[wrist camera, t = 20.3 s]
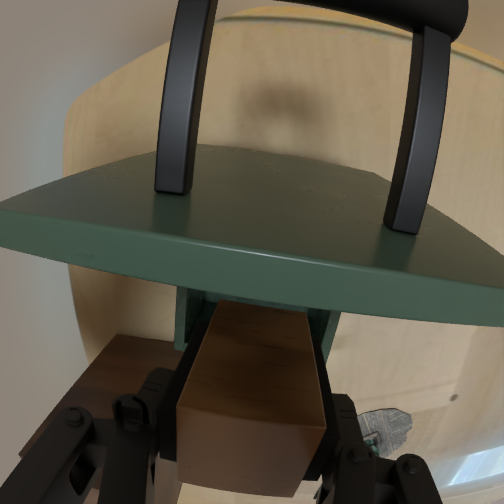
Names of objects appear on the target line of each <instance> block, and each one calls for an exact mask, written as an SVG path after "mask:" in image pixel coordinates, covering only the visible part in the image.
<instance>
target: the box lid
mask: <svg viewBox="0 0 504 504" xmlns="http://www.w3.org/2000/svg"><path fill="white" fill-rule="evenodd" d="M276 1H284V2H291V3H298V4H304V5H310V6H316V7H321V8H326V9H331V10H336V11H340V12H344V13H349V14H353V15H357V16H360V17H364V18H368V19H371V20H375V21H378V22H381V23H385V24H388V25H391V26H394V27H397V28H400V29H403V30H406V31H409V32H411V33H413V41H412V54H411V64H410V74H409V82H408V91H407V98H406V105H405V112H404V119H403V125H402V131H401V137H400V142H399V148H398V153H397V158H396V163H395V168H394V173H393V178H392V182H390V181H388V180H386V179H384V178H383V177H381V176H379V175H377V174H375V173H373V172H368V171H364V170H359V169H355V168H350V167H345V166H341V165H336V164H331V163H326V162H321V161H315V160H310V159H304V158H299V157H293V156H287V155H281V154H274V153H268V152H261V151H254V150H247V149H239V148H231V147H223V146H214V145H205V144H197V136H198V127H199V119H200V111H201V103H202V96H203V89H204V82H205V75H206V68H207V62H208V55H209V49H210V43H211V37H212V31H213V26H214V20H215V14H216V9H217V4H218V0H179V1H178V6H177V11H176V15H175V20H174V25H173V31H172V36H171V42H170V48H169V54H168V60H167V66H166V73H165V80H164V87H163V95H162V103H161V111H160V120H159V130H158V141H157V151H154V152H150V153H146V154H142V155H138V156H134V157H130V158H127V159H123V160H120V161H116V162H113V163H109V164H106V165H102V166H99V167H96V168H92V169H89V170H86V171H83V172H80V173H77V174H74V175H71V176H68V177H65V178H62V179H59V180H57V181H53V182H51V183H48V184H45V185H42V186H40V187H37V188H34V189H32V190H29V191H26V192H24V193H21V194H19V195H16V196H14V197H11V198H9V199H6V200H4V201H2V202H0V247H3V248H7V249H11V250H15V251H19V252H23V253H27V254H31V255H35V256H39V257H43V258H47V259H51V260H56V261H60V262H64V263H69V264H73V265H77V266H82V267H86V268H91V269H95V270H100V271H105V272H109V273H114V274H119V275H124V276H128V277H133V278H138V279H143V280H148V281H153V282H159V283H164V284H169V285H174V286H180V287H185V288H191V289H196V290H202V291H207V292H213V293H219V294H225V295H231V296H237V297H243V298H249V299H255V300H262V301H268V302H275V303H281V304H288V305H295V306H302V307H309V308H316V309H324V310H331V311H339V312H347V313H355V314H363V315H371V316H380V317H389V318H398V319H408V320H418V321H428V322H439V323H451V324H463V325H476V326H490V327H504V256H503V255H502V254H500V253H499V252H498V251H496V250H495V249H494V248H492V247H491V246H490V245H488V244H487V243H486V242H484V241H483V240H481V239H480V238H479V237H477V236H476V235H474V234H473V233H471V232H470V231H469V230H467V229H466V228H464V227H463V226H461V225H460V224H458V223H457V222H455V221H454V220H452V219H451V218H449V217H448V216H446V215H445V214H443V213H441V212H440V211H438V210H437V209H435V208H434V207H432V206H430V205H429V204H427V199H428V195H429V191H430V187H431V183H432V178H433V174H434V169H435V164H436V159H437V154H438V149H439V144H440V138H441V132H442V126H443V119H444V112H445V105H446V97H447V88H448V77H449V65H450V49H451V43H452V42H454V41H455V40H456V39H457V38H458V37H459V35H460V34H461V32H462V30H463V28H464V26H465V23H466V20H467V16H468V0H276Z"/></svg>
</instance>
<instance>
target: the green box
mask: <svg viewBox="0 0 504 504" xmlns="http://www.w3.org/2000/svg"><path fill="white" fill-rule="evenodd" d="M220 299H223V300H229V301H235V302H241V303H247V304H253V305H259V306H266V307H272V308H279V309H286V310H292V311H299V312H306V314H307V319H308V324H309V329H310V335H311V338H315V339H320V343H321V347H322V352H323V356H324V361H325V365H326V362H327V359H328V356H329V352H330V349H331V346H332V343H333V339H334V336H335V332H336V329H337V326H338V322H339V318H340V315H341V312H339V311H331V310H324V309H316V308H309V307H302V306H295V305H288V304H281V303H275V302H268V301H262V300H255V299H249V298H243V297H237V296H231V295H225V294H219V293H213V292H207V291H202V290H196V289H191V288H185V287H180V286H177V294H176V312H175V333H174V349H176V350H180V351H185V349H186V347H187V345H188V343H189V341H190V338H191V336H192V334H193V332H194V330H195V328H196V326H197V324H198V322H199V320H200V321H205V322H211V319H212V317H213V314H214V312H215V309H216V307H217V305H218V302H219V300H220Z"/></svg>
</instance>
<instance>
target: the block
mask: <svg viewBox="0 0 504 504" xmlns="http://www.w3.org/2000/svg"><path fill="white" fill-rule="evenodd" d="M326 428H327V427H326V420H325V414H324V408H323V402H322V396H321V390H320V384H319V379H318V373H317V367H316V362H315V356H314V351H313V345H312V340H311V335H310V329H309V324H308V319H307V314H306V312H299V311H292V310H286V309H279V308H272V307H266V306H259V305H253V304H247V303H241V302H235V301H229V300H223V299H220V300H219V302H218V305H217V307H216V309H215V312H214V314H213V317H212V319H211V322H210V324H209V327H208V329H207V331H206V334H205V336H204V339H203V341H202V344H201V346H200V349H199V351H198V353H197V356H196V358H195V361H194V363H193V366H192V368H191V371H190V373H189V376H188V378H187V381H186V383H185V386H184V388H183V391H182V393H181V395H180V398H179V400H178V403H177V405H176V454H177V480H178V481H179V482H183V483H188V484H192V485H197V486H202V487H207V488H213V489H218V490H225V491H231V492H238V493H245V494H254V495H263V496H275V497H290V498H292V497H293V496H294V494H295V492H296V490H297V489H298V487H299V485H300V483H301V481H302V479H303V477H304V475H305V473H306V471H307V469H308V467H309V465H310V463H311V461H312V459H313V457H314V455H315V452H316V450H317V448H318V446H319V444H320V442H321V439H322V437H323V435H324V433H325V431H326Z"/></svg>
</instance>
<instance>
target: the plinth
mask: <svg viewBox="0 0 504 504" xmlns="http://www.w3.org/2000/svg"><path fill="white" fill-rule="evenodd" d="M183 353H184V351H180V350H176V349H174V342H166V341H158V340H151V339H144V338H137V337H131V336H125V335H119V334H116V335H115V336H114V338H113V339H112V340H111V341H110V342H109V343H108V345H107V346H106V347H105V348H104V349H103V350H102V351H101V353H100V354H99V355H98V356H97V357H96V358H95V360H94V361H93V362H92V363H91V364H90V366H89V367H88V368H87V369H86V370H85V372H84V373H83V374H82V375H81V376H80V378H79V379H78V380H77V381H76V382H75V383H74V385H73V386H72V387H71V388H70V390H69V391H68V392H67V393H66V394H65V396H64V397H63V398H62V399H61V401H60V402H59V403H58V404H57V405H56V407H55V408H54V409H53V410H52V412H51V413H50V414H49V415H48V417H47V418H46V419H45V420H44V422H43V423H42V424H41V425H40V427H39V428H38V429H37V430H36V432H35V433H34V434H33V436H32V437H31V438H30V440H29V441H28V442H27V443H26V445H25V446H24V447H23V449H22V450H21V451H20V453H19V456H20V458H21V459H22V458H23V457H24V456H25V454H26V453H27V452H28V451H29V449H30V448H31V447H32V446H33V444H34V443H35V442H36V440H37V439H38V438H39V437H40V435H41V434H42V433H43V432H44V430H45V429H46V428H47V427H48V425H49V424H50V423H51V422H52V420H53V419H54V418H55V417H56V415H57V414H58V413H59V412H60V411H61V410H62V409H64V408H66V407H69V406H79V407H83V408H85V409H86V410H88V411H89V412H90V414H91V415H92V418H103V419H112V418H114V416H113V410H112V402H113V401H114V399H115V398H117V397H118V396H120V395H124V394H137V393H138V391H139V389H140V388H141V386H142V384H143V382H145V379H146V377H147V375H148V374H149V372H151V371H152V370H154V369H155V368H156V367H162V368H166V369H170V370H176V368H177V366H178V364H179V362H180V359H181V357H182V355H183ZM103 470H104V468H102V470H101V472H100V474H99V475H98V477H97V479H96V481H95V483H94V485H93V486H92V488H91V490H90V492H89V494H88V496H87V497H86V499H85V501H84V503H83V504H97V502H98V496H99V491H100V485H101V480H102V475H103ZM182 483H183V482H179V481H178V480H177V462H173V461H169V460H165V459H161V458H160V456H159V453H158V455H157V458H156V479H155V499H154V504H177V500H178V497H179V493H180V490H181V486H182Z"/></svg>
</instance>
